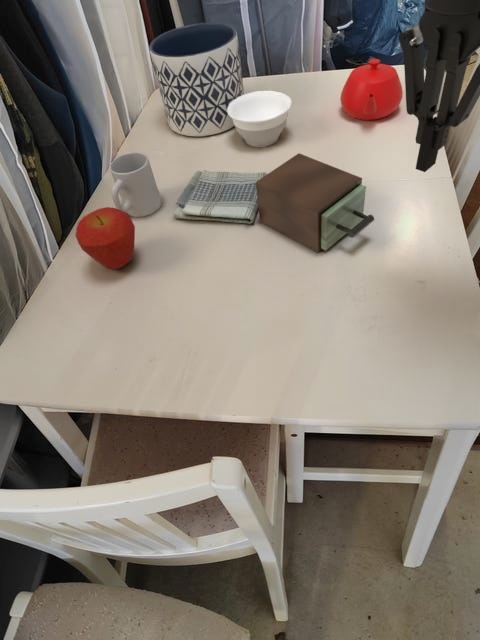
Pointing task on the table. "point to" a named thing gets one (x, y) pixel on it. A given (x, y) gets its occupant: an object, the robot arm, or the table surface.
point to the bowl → (260, 116)
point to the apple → (107, 236)
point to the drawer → (344, 218)
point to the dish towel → (220, 197)
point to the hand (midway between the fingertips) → (425, 166)
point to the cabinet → (301, 197)
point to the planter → (198, 76)
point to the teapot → (372, 91)
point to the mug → (134, 185)
